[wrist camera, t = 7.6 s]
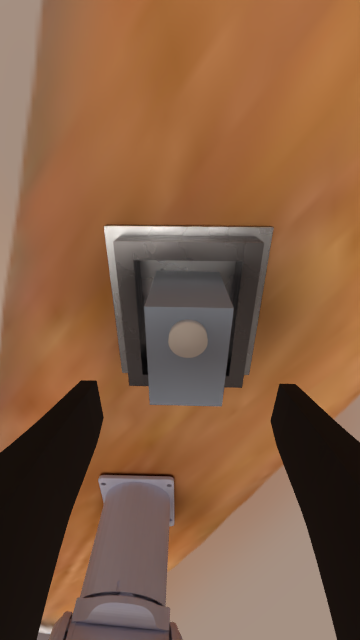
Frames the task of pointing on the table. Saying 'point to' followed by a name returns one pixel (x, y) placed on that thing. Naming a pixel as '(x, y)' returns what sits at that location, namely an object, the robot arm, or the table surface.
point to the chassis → (186, 255)
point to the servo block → (187, 338)
